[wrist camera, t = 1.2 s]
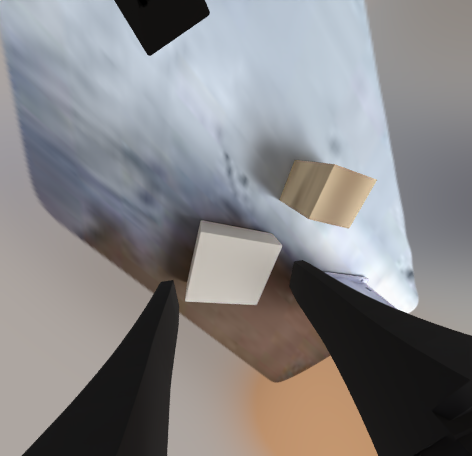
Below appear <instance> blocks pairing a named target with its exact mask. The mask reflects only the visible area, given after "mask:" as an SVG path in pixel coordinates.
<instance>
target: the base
mask: <svg viewBox="0 0 472 456" xmlns="http://www.w3.org/2000/svg"><path fill="white" fill-rule="evenodd" d="M281 248H282V244H281V243H280V242H279V241H278V240H277V239H276V237H275V236H274V235H273V234H272V233H267V232H261V231H256V230H251V229H245V228H240V227H235V226H230V225H224V224H219V223H214V222H209V221H203V220H201V221H200V226H199V230H198V235H197V239H196V244H195V249H194V253H193V258H192V262H191V267H190V271H189V276H188V280H187V288H186V298H185V301H188V302H208V303H227V304H247V305H257V303H258V301H259V298H260V296H261V294H262V292H263V289H264V287H265V285H266V282H267V280H268V278H269V276H270V273H271V271H272V269H273V266H274V264H275V262H276V260H277V257H278V255H279V253H280V251H281Z"/></svg>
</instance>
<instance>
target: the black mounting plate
mask: <svg viewBox="0 0 472 456" xmlns="http://www.w3.org/2000/svg"><path fill="white" fill-rule="evenodd" d="M114 1H115V2H116V4H117V5H118V7H119V9H120V10H121V12H122V14H123V15H124V17H125V19H126V20H127V22H128V24H129V25H130V27H131V28H132V30H133V32H134V33H135V35H136V37H137V38H138V40H139V42H140V43H141V45H142V47H143V48H144V50H145V51H146V53H147V55H149V56H151V55H152V54H154V53H155V52H157V51H158V50H160V49H161V48H162V47H164V46H165V45H167V44H168V43H170V42H171V41H173V40H174V39H175V38H177V37H178V36H180V35H181V34H183V33H184V32H186V31H187V30H188V29H190V28H191V27H193V26H194V25H196V24H197V23H199V22H200V21H201V20H203V19H204V18H206V17H207V16H209V13H210V12H209V9H208V7H207V4H206V2H205V0H114Z"/></svg>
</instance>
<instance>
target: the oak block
mask: <svg viewBox="0 0 472 456" xmlns="http://www.w3.org/2000/svg"><path fill="white" fill-rule="evenodd" d="M376 181H377V180H376V179H373V178H371V177H368V176H365V175H362V174H360V173H357V172H354V171H351V170H349V169H346V168H343V167H340V166H338V165H335V164H327V163H318V162H309V161H300V160H295V161H294V163H293V166H292V169H291V171H290V174H289V176H288V179H287V181H286V184H285V187H284V189H283V192H282V194H281V197H280V201H281V202H283V203H285V204H286V205H288V206H289V207H291V208H292V209H294V210H295V211H297V212H299V213H300V214H302V215H303V216H305V217H306V218H308V219H310V220H315V221H319V222H323V223H327V224H332V225H336V226H340V227H345V228H349V227H350V226H351V224H352V222H353V221H354V219H355V217H356V215H357V214H358V212H359V210H360V209H361V207H362V205H363V203H364V202H365V200H366V198H367V196H368V195H369V193H370V191H371V190H372V188H373V186H374V184H375V183H376Z"/></svg>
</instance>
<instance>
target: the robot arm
mask: <svg viewBox="0 0 472 456" xmlns="http://www.w3.org/2000/svg"><path fill="white" fill-rule="evenodd" d="M368 281H369V279H368V278H366V277H360V276H352V275H344V274H336V273H329V272H323V271H321V270H319V269H318V268H316V267H314V266H312V265H311V264H309V263H307V262H305V261H303V260H302V261H295V262H294V265H293V270H292V275H291V280H290V285H289V286H290V288H291V290H292V293H293V295H294V297H295V299H296V301H297V302H298V304H299V305H300V307H301V308H302V310H303V312H304V313H305V315H306V316H307V318H308V319H309V321H310V322H311V324H312V325H313V327H314V328H315V330H316V331H317V333H318V334H319V336H320V337H321V339H322V341H323V342H324V344H325V346H326V348H327V349H328V351H329V353H330V355H331V357H332V359H333V360H334V362H335V364H336V366H337V368H338V370H339V372H340V374H341V376H342V378H343V380H344V382H345V384H346V385H347V388H348V390H349V392H350V394H351V396H352V398H353V400H354V402H355V404H356V406H357V409H358V410H359V413H360V415H361V417H362V420H363V422H364V424H365V426H366V428H367V431H368V433H369V435H370V437H371V439H372V442H373V444H374V447H375V449H376V451H377V454H378V456H472V336H471V335H467V334H464V333H461V332H457V331H454V330H451V329H449V328H446V327H443V326H440V325H437V324H434V323H431V322H428V321H426V320H423V319H420V318H417V317H415V316H413V315H410V314H408V313H405V312H403V311H400V310H398V309H396V308H395V307H394V306H393V305H391V304H390V303H389V302H388V301H386V300H385V299H384V298H383V297H382V296H380V295H379V294H378V293H377V292H375V291H374V290H373V289H372V288H370V287H369V286H368V285H367V282H368ZM178 322H179V304H178V299H177V294H176V290H175V285H174V281H173V280H171V281H164V282H161V283H160V284H159V286H158V288H157V289H156V291H155V293H154V294H153V296H152V298H151V300H150V301H149V303H148V304H147V306H146V308H145V309H144V311H143V312H142V314H141V315H140V317H139V318H138V320H137V321H136V323H135V324H134V326H133V327H132V329H131V330H130V331H129V333H128V334H127V335H126V337H125V338H124V340H123V341H122V342H121V344H120V345H119V346H118V348H117V349H116V350H115V351H114V353H113V354H112V355H111V357H110V358H109V359H108V360H107V362H106V363H105V364H104V365H103V366H102V368H101V369H100V370H99V371H98V373H97V374H96V375H95V376H94V377H93V378H92V380H91V381H90V382H89V383H88V384H87V385H86V387H85V388H84V389H83V390H82V391H81V392H80V394H79V395H78V396H77V397H76V398H75V399H74V400H73V402H72V403H71V404H70V405H69V406H68V407H67V408H66V409H65V410H64V411H63V413H62V414H61V415H60V416H59V417H58V418H57V419H56V420H55V421H54V422H53V423H52V424H51V425H50V427H48V428H47V429H46V430H45V432H44V433H43V434H42V435H41V436H40V437H39V438H38V439H37V440H36V441H35V442H34V443H33V444H32V445H31V447H30V448H29V449H28V450H27V451H26V452H25V453H24V454H23V455H22V456H167V444H168V424H169V405H170V387H171V378H172V370H173V363H174V355H175V347H176V340H177V333H178V325H179V323H178Z"/></svg>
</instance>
